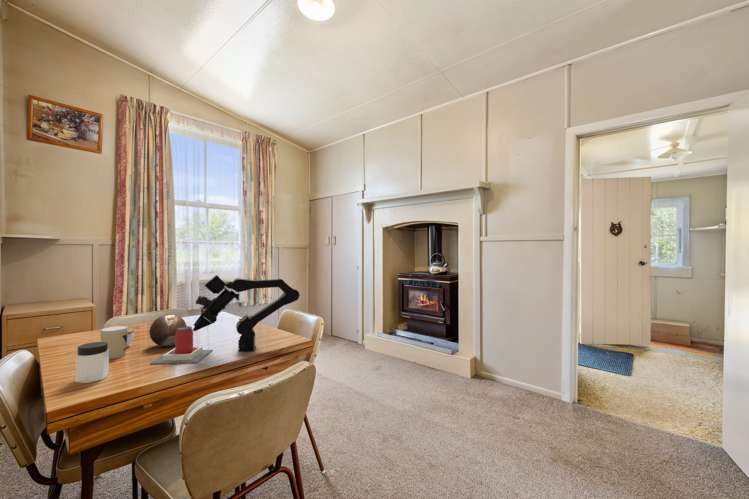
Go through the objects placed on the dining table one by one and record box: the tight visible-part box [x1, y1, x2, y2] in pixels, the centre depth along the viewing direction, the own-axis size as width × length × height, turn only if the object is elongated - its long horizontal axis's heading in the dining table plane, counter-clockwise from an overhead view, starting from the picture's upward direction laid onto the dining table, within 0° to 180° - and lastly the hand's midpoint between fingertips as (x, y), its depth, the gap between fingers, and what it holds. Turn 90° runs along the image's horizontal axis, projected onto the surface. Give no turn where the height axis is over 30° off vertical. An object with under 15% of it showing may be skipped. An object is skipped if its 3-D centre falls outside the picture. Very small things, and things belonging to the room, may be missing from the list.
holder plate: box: [149, 346, 214, 365], centre depth 137 cm, size 18×16×3 cm
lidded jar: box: [126, 327, 135, 348], centre depth 150 cm, size 11×11×9 cm
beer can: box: [174, 325, 194, 354], centre depth 137 cm, size 7×7×12 cm
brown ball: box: [149, 313, 187, 347], centre depth 153 cm, size 15×15×15 cm
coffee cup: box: [99, 325, 128, 360], centre depth 137 cm, size 9×9×12 cm
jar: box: [75, 341, 110, 384], centre depth 114 cm, size 9×8×12 cm
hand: (193, 328), depth 139 cm, fingers open, 9 cm apart
